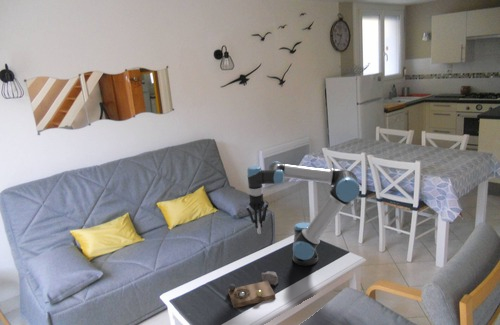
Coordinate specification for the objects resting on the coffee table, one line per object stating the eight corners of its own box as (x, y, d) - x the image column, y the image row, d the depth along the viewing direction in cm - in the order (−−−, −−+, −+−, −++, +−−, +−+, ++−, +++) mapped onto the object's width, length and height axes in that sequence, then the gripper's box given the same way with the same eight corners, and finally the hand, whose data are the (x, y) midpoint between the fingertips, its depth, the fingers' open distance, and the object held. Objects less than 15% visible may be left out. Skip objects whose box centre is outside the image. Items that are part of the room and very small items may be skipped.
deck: (267, 284, 208) (267, 280, 207) (275, 298, 196) (275, 294, 195) (228, 293, 203) (228, 289, 202) (233, 308, 191) (233, 303, 190)
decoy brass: (261, 293, 197) (261, 287, 196) (263, 297, 193) (263, 291, 192) (255, 295, 196) (254, 289, 195) (257, 299, 193) (256, 293, 192)
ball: (245, 291, 200) (240, 289, 199) (247, 295, 197) (241, 293, 195) (243, 297, 200) (237, 295, 199) (244, 300, 197) (238, 299, 196)
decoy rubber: (235, 287, 204) (234, 281, 203) (236, 291, 200) (235, 285, 199) (228, 289, 203) (228, 283, 202) (230, 292, 199) (229, 287, 198)
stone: (282, 280, 211) (282, 271, 209) (273, 287, 205) (272, 278, 204) (269, 274, 217) (269, 265, 216) (260, 281, 212) (259, 272, 210)
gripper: (265, 189, 213) (268, 228, 220) (242, 193, 211) (246, 232, 217) (269, 194, 206) (272, 233, 213) (246, 198, 204) (249, 237, 210)
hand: (259, 232), depth 215 cm, fingers closed
